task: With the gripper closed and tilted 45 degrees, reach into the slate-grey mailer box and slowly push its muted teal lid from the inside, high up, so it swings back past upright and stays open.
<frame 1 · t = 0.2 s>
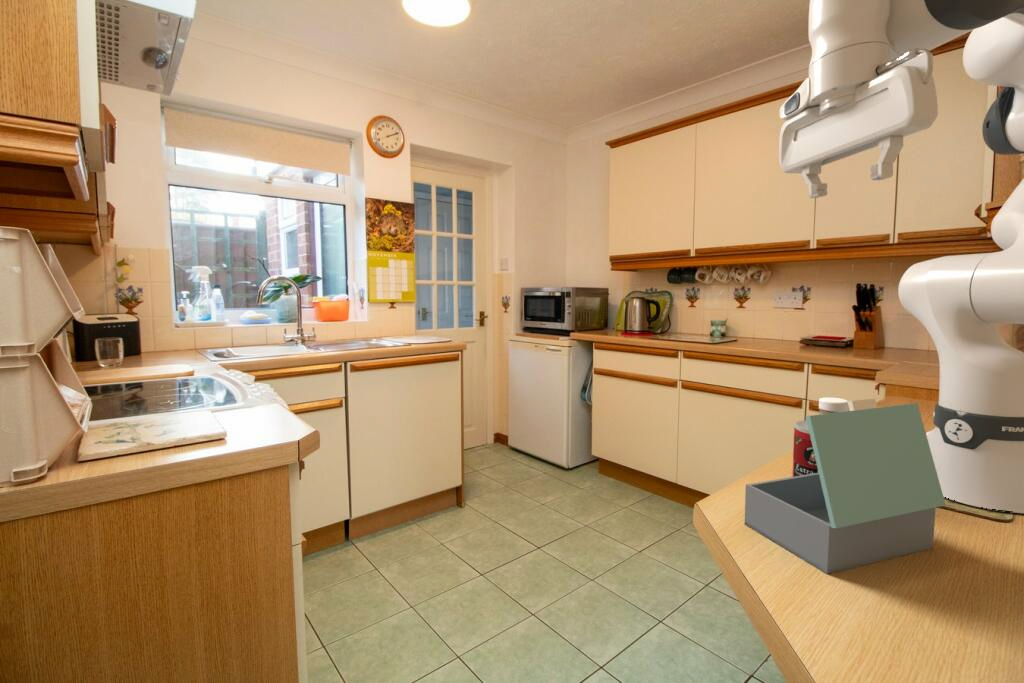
hand: (847, 188, 64), 47 cm above the table, tool pointing down, fingers open, 8 cm apart
mailer lid: (875, 456, 59), point 13 cm above the table, hinge at 72.0°
canned food: (818, 490, 81), on the table
mailer box: (833, 535, 65), on the table
sprinkles bottle: (830, 470, 89), on the table
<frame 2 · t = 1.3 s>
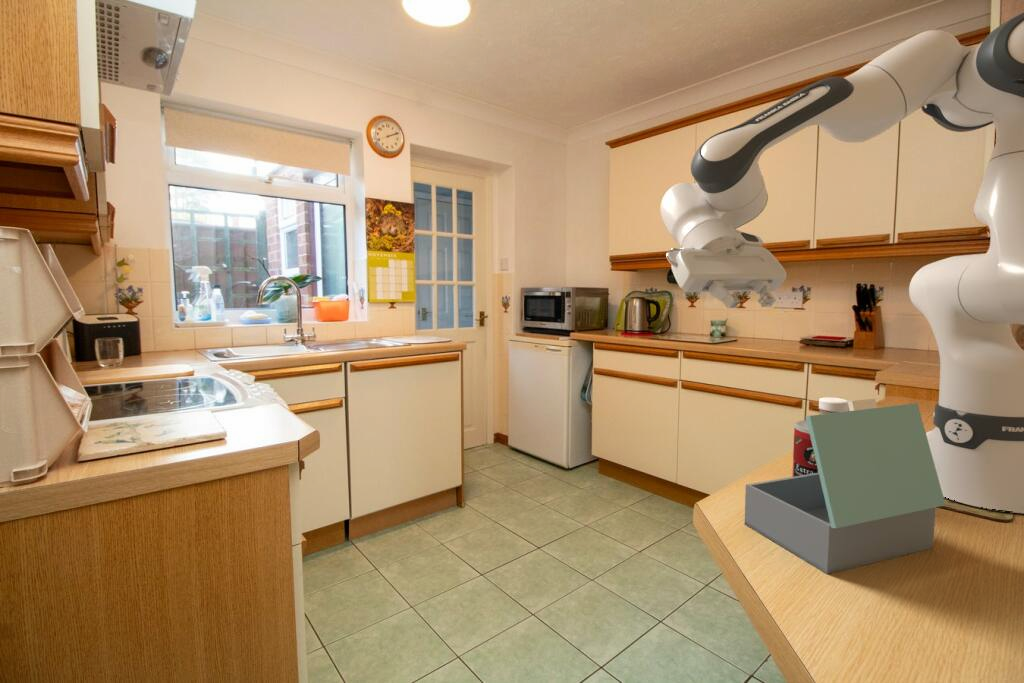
hand: (752, 305, 77), 31 cm above the table, tool tilted 45°, fingers open, 6 cm apart
nothing on the table moved.
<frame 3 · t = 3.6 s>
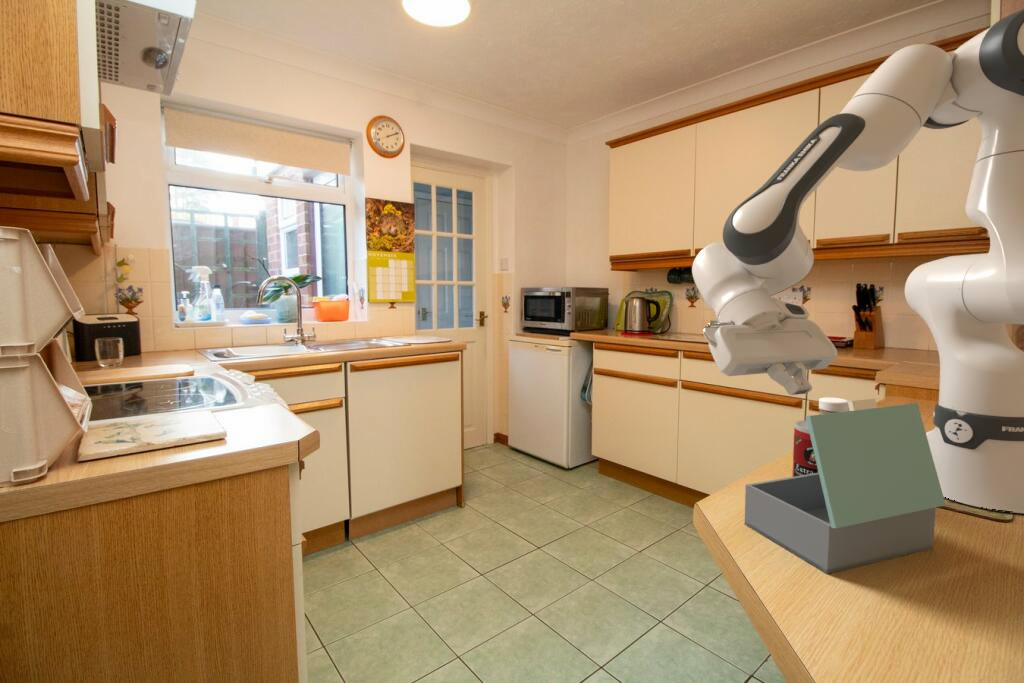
hand: (801, 392, 69), 19 cm above the table, tool tilted 45°, fingers closed
nothing on the table moved.
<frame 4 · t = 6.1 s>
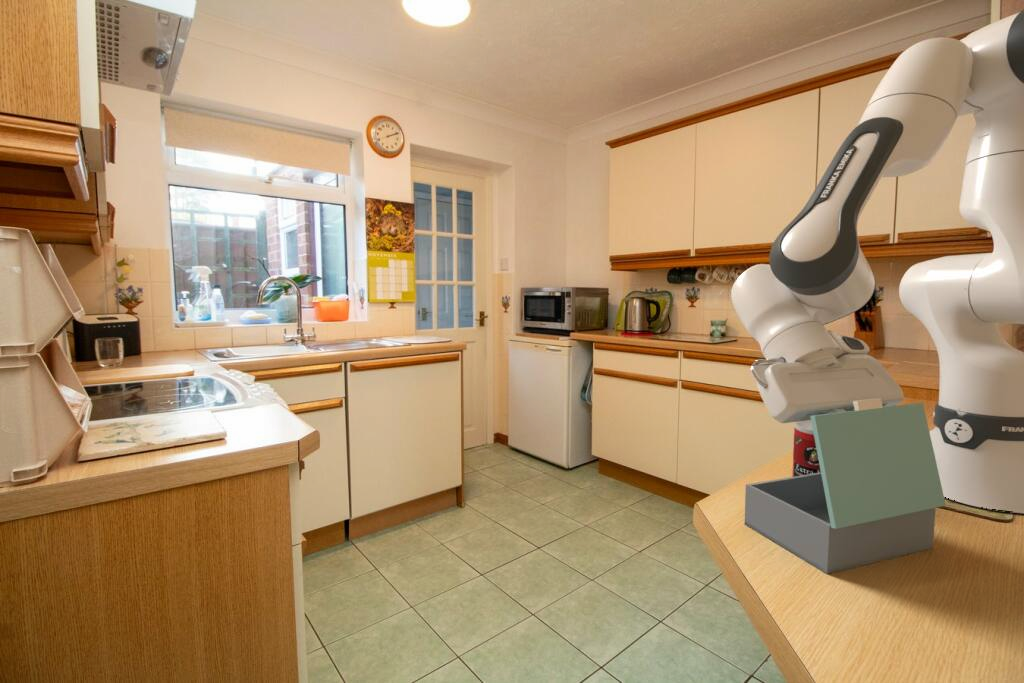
hand: (867, 443, 60), 14 cm above the table, tool tilted 45°, fingers closed, pressing on mailer lid
mailer lid: (878, 456, 59), point 13 cm above the table, hinge at 75.0°, touching gripper
everything else where it was.
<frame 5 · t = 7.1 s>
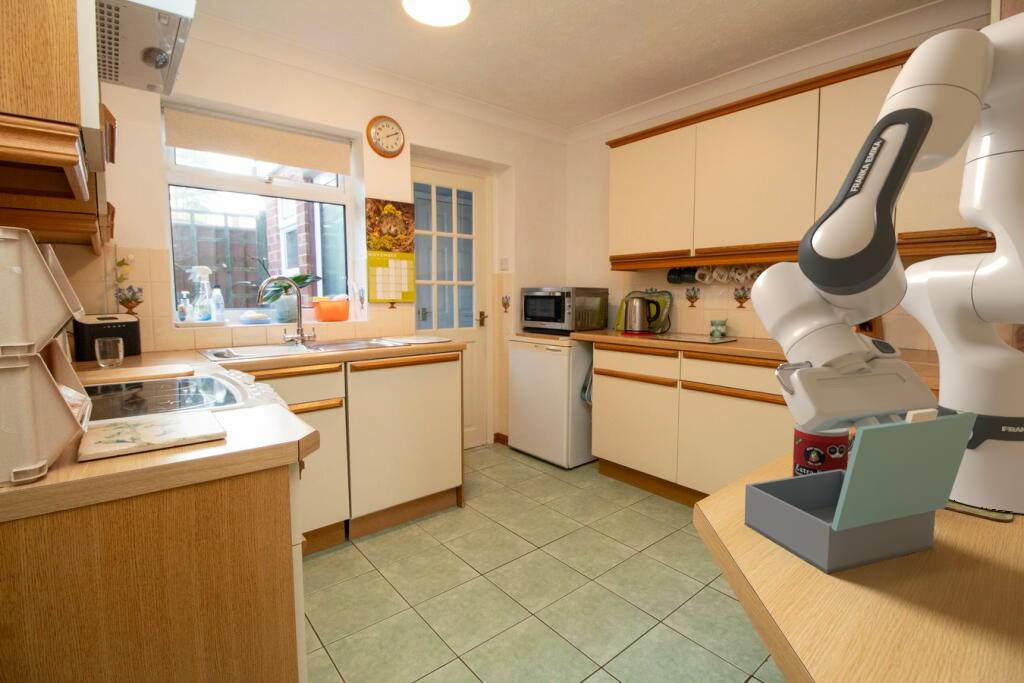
hand: (901, 454, 56), 14 cm above the table, tool tilted 45°, fingers closed, pressing on mailer lid
mailer lid: (906, 466, 56), point 13 cm above the table, hinge at 101.0°, touching gripper
everything else where it was.
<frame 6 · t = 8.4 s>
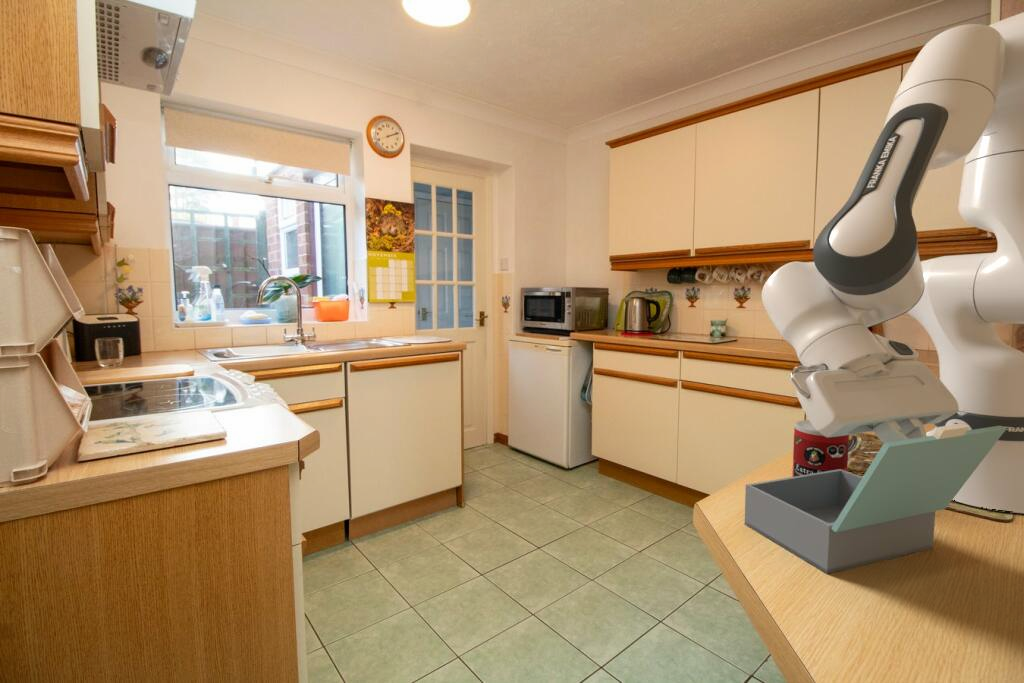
hand: (923, 460, 54), 14 cm above the table, tool tilted 45°, fingers closed, pressing on mailer lid
mailer lid: (920, 475, 55), point 12 cm above the table, hinge at 114.0°, touching gripper
everything else where it was.
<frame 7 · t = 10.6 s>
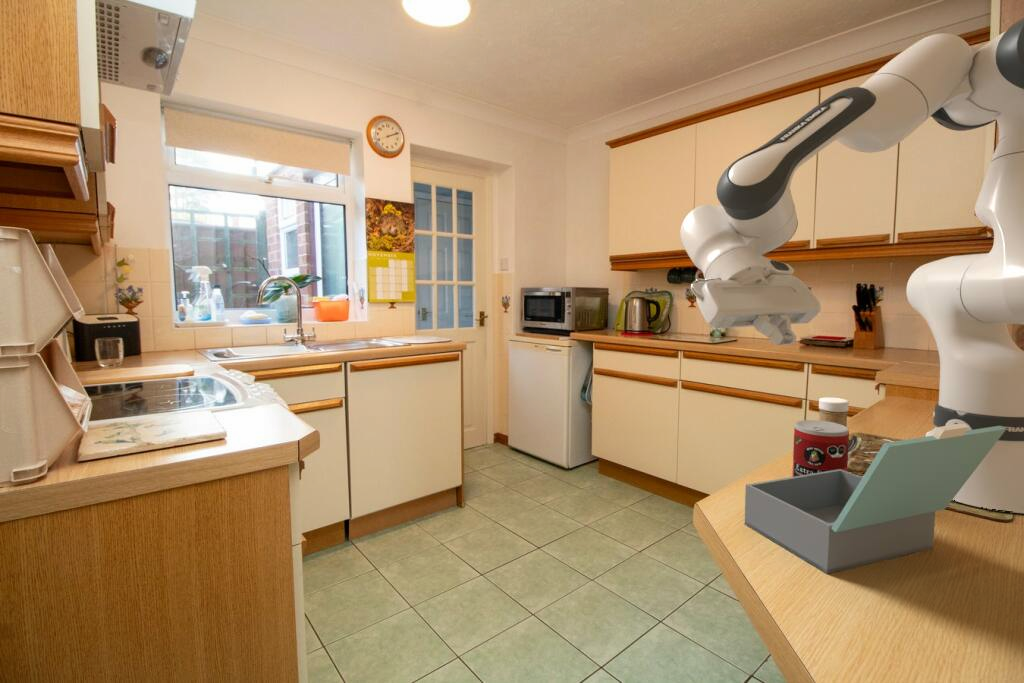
hand: (786, 342, 71), 26 cm above the table, tool tilted 45°, fingers closed
mailer lid: (920, 475, 55), point 12 cm above the table, hinge at 114.0°
everything else where it was.
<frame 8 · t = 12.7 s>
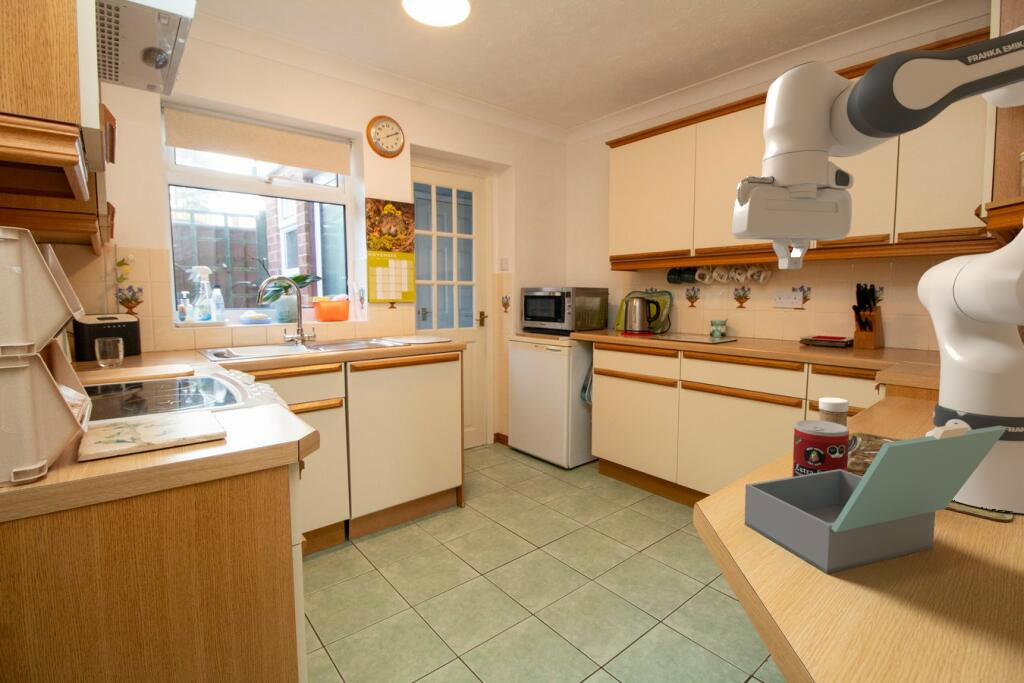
hand: (790, 268, 75), 37 cm above the table, tool pointing down, fingers closed
nothing on the table moved.
at the end: mailer lid at +114° (first picture: +72°) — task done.
